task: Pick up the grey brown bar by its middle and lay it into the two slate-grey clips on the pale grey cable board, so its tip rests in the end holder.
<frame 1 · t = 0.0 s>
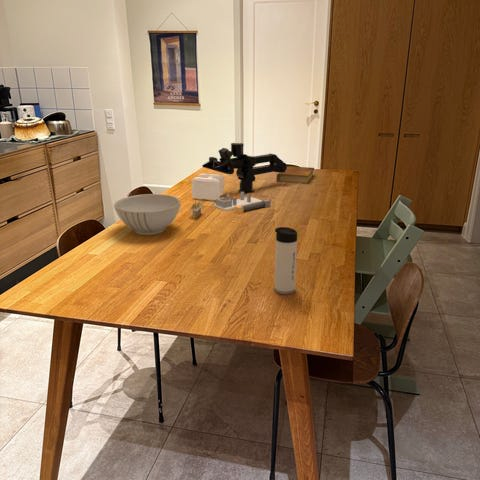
hand: (207, 167, 231), 17 cm above the table, tool horizontal, fingers open, 9 cm apart
grey brown bar: (252, 209, 220), on the table
cable board: (238, 204, 228), on the table
travel mug: (283, 290, 140), on the table
cable organizer: (208, 198, 239), on the table
diary: (295, 179, 280), on the table
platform: (196, 217, 210), on the table
decorative bowl: (149, 230, 192), on the table
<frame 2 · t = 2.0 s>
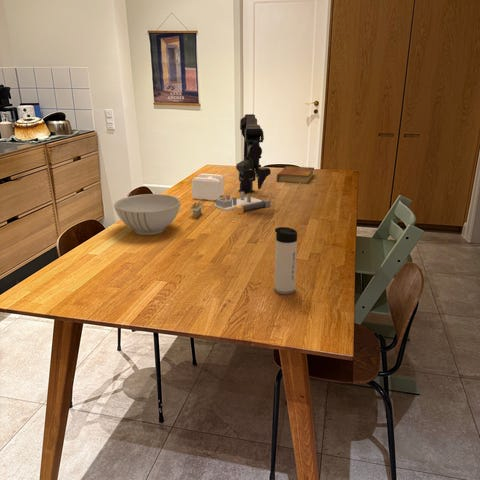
hand: (252, 187, 216), 11 cm above the table, tool pointing down, fingers open, 9 cm apart
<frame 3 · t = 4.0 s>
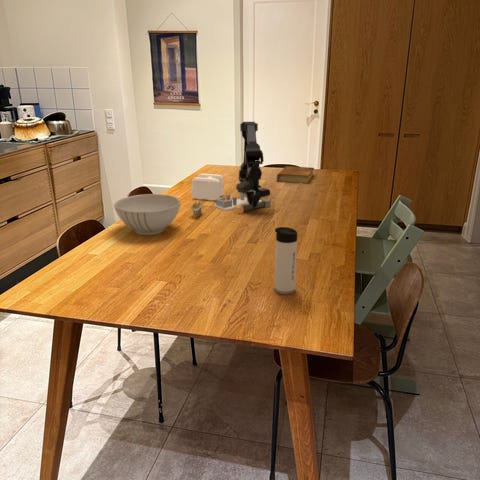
hand: (252, 206, 219), 1 cm above the table, tool pointing down, fingers closed on grey brown bar, 2 cm apart
grey brown bar: (252, 209, 220), on the table, touching gripper
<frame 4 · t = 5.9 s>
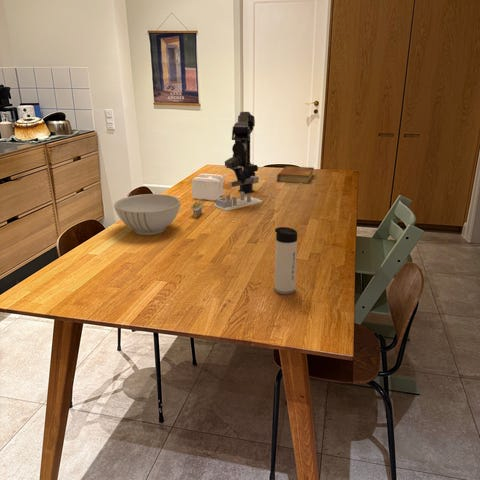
hand: (241, 183, 223), 11 cm above the table, tool pointing down, fingers closed on grey brown bar, 2 cm apart
grey brown bar: (241, 185, 223), point 10 cm above the table, touching gripper
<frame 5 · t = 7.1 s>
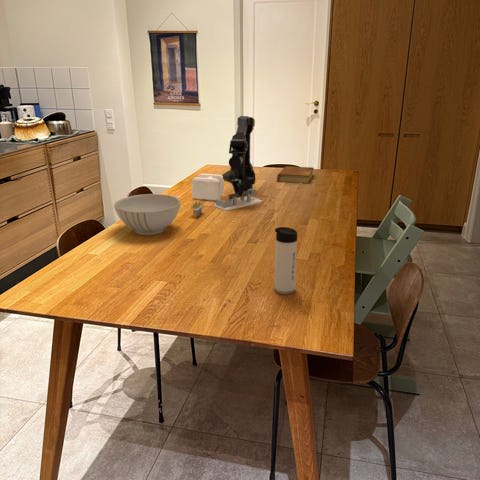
hand: (238, 195, 226), 4 cm above the table, tool pointing down, fingers closed on grey brown bar, 2 cm apart
grey brown bar: (238, 198, 227), point 3 cm above the table, touching gripper
when the fingers open (3 cm above the table, at t = 7.9 s): grey brown bar stays where it is, resting on cable board.
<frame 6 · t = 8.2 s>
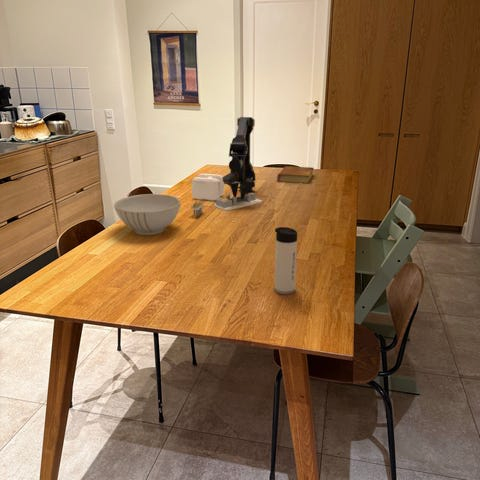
hand: (238, 198, 227), 3 cm above the table, tool pointing down, fingers open, 5 cm apart
grey brown bar: (238, 202, 227), point 1 cm above the table, touching cable board
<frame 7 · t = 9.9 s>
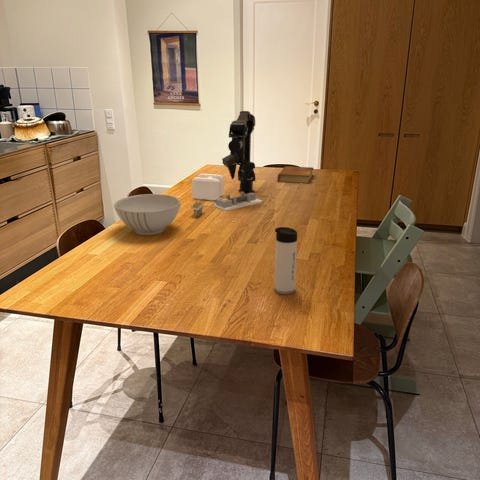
hand: (238, 180, 225), 12 cm above the table, tool pointing down, fingers open, 9 cm apart
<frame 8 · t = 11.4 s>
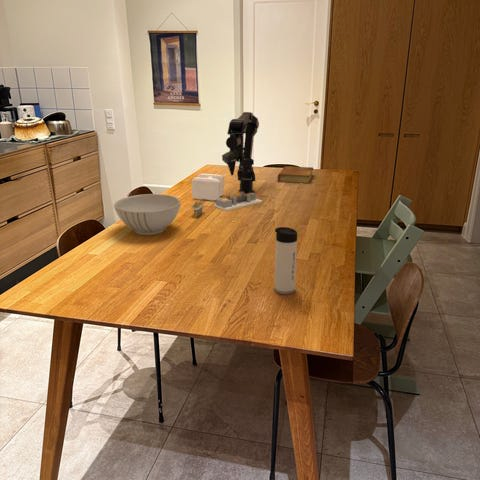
hand: (237, 176, 231), 12 cm above the table, tool pointing down, fingers open, 9 cm apart
at the end: grey brown bar 0.0 cm off-centre on the cable board, point 1.0 cm above the cable board's base; grey brown bar tilted 0°; the gripper is holding nothing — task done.
